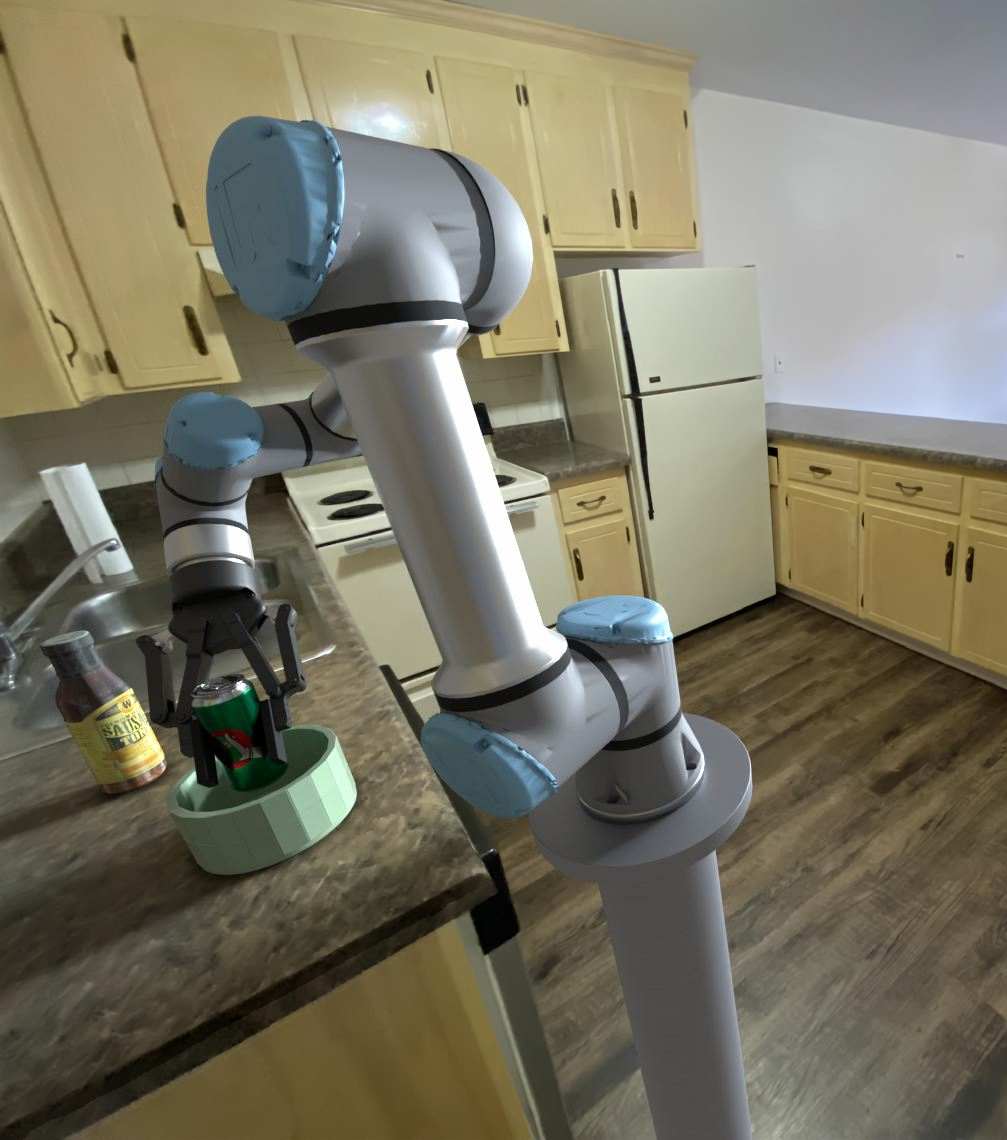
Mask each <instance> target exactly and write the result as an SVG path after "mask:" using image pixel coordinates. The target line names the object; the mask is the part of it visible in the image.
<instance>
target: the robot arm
mask: <svg viewBox="0 0 1007 1140" xmlns="http://www.w3.org/2000/svg"><path fill="white" fill-rule="evenodd" d="M206 175H207V178H206V184H205V204H206V216H207V223H208V228H209V235H210V239H211V242H212V246H213V249H214V253H215V256H216V259H217V262H218V265H219V268H220V269H221V272H222V274H223V276H224V279H225V280H226V282H227V284H228V285H229V287H230V289H231V291H233V292H234V293H236V295H238V296H239V299H240V302H241V303H242V305H244V306H245V307H246V308H247V309H249V310H250V311H251V312H252V313H255V314H257V315H258V316H260V317H264V318H267V319H269V320H272V321H274V322H284V323H285V325H286V327H287V329H288V332H289V335H290V337H291V339H292V342H293V344H294V347H295V349H296V351H297V353H298V354H300V355H302V356H304V357H306V358H308V359H309V360H311V361H313V362H315V363H316V364H318V365H320V366H322V367H323V368H324V369H326V370H327V373H326V374H325V375H324V377H322V379H321V381H320V382H319V383H318V385H317V386H316V387H315V389H314V390H313V391H312V392H311V393H310V395H308V397H307V398H305V399H302V400H294V401H287V402H279V403H273V404H265V405H258V406H251V405H249V404H248V403H247V402H245V401H244V400H242V399H239V398H237V397H235V396H232V395H229V394H225V395H222V394H217V393H214V392H213V391H202V392H194V393H191V394H188V395H185V396H182V397H181V398H180V399H179V400H176V402H175V403H174V404H173V405H172V407H171V408H170V411H169V414H168V416H167V419H166V423H165V426H164V428H163V434H162V439H163V442H162V444H163V453H162V455H163V456H161V457H159V458H158V459H157V460H156V462H155V464H154V483H153V489H154V494H156V496H157V504H158V510H159V517H160V521H161V529H162V541H163V548H164V549H163V550H164V551H163V552H164V560H165V568H166V575H167V576H168V580H167V584H168V591H169V599H170V607H171V612H172V617H171V619H170V621H169V623H168V626H167V628H166V629H164V630H162V631H161V632H158V633H156V634H153V635H152V636H150V635H148V634H142V635H140V636H138V637H137V638H136V640H135V643H136V645H137V647H138V648H139V650H140V651H141V653H142V654H143V655H144V660H145V661H144V662H145V672H146V673H145V675H146V685H147V697H148V706H149V707H148V708H149V709H148V710H149V720H150V722H151V723H152V724H155V725H157V726H160V727H162V728H164V729H167V730H168V729H172V728H173V729H174V728H177V733H178V742H179V750H180V753H181V754H182V755H183V756H184V757H186V758H188V759H193V761H194V767H195V770H196V778H197V784H199V785H202V786H205V787H208V788H211V787H214V786H217V785H219V782H218V775H217V767H216V760H215V754H214V752H213V750H212V748H211V746H210V744H209V742H208V740H207V738H206V736H205V734H204V732H203V730H202V728H201V726H200V724H199V722H198V720H197V718H196V716H195V714H194V712H193V710H192V708H191V706H190V702H191V699H192V696H191V695H190V693H191V691H192V690H193V689H194V688H195V687H196V686H198V685H200V684H201V683H203V682H205V681H208V680H210V676H211V672H212V667H213V665H214V664H215V663H216V657H217V655H220V654H222V653H224V652H227V651H228V650H230V651H231V650H241V651H242V653H243V655H244V657H245V659H246V660H247V662H248V664H249V666H250V667H251V669H252V670H253V672H254V674H255V675H256V677H257V679H258V681H259V683H260V684H261V686H262V688H263V689H264V693H265V695H267V696H268V698H265V699H263V700H260V701H259V703H260V709H261V715H262V720H263V726H264V732H265V738H266V744H267V750H268V756H269V761H270V762H272V763H274V764H276V765H278V766H280V765H283V764H286V763H287V759H286V753H285V747H284V742H283V736H282V731H283V730H286V729H290V728H291V726H293V721H292V714H291V709H290V705H289V701H290V698H291V697H292V696H294V695H296V694H297V693H302V692H305V690H306V689H307V687H308V684H307V680H306V675H305V671H304V665H303V661H302V657H301V651H300V647H299V643H298V638H297V633H296V627H297V623H298V619H299V614H298V612H297V610H295V609H294V608H293V606H292V605H291V604H290V603H282V604H280V605H279V606H267V605H266V604H265V603H264V602H263V601H262V596H261V594H262V593H261V589H260V584H259V579H258V573H257V571H256V570H255V569H256V562H255V557H254V550H253V546H252V540H251V536H250V532H249V525H248V519H247V518H248V517H247V511H246V500H247V497H248V494H249V491H250V487H251V484H252V482H253V479H255V478H259V477H264V476H270V475H275V474H279V473H284V472H288V471H292V470H297V469H301V468H305V467H311V466H315V465H321V464H324V463H330V462H334V461H339V460H345V459H349V458H357V457H363V458H364V461H365V464H366V466H367V469H368V471H369V474H370V476H371V478H372V482H373V484H374V487H375V490H376V493H377V494H378V497H379V499H380V502H381V505H382V507H383V510H384V513H385V516H386V519H387V521H388V523H389V525H390V528H391V531H392V534H393V536H394V538H395V541H396V544H397V546H398V549H399V552H400V554H401V557H402V559H403V562H404V564H405V567H406V569H407V572H408V576H409V578H410V580H411V583H412V585H413V587H414V589H415V593H416V596H417V597H418V601H419V603H420V606H421V607H422V608H421V609H422V611H423V613H424V615H425V618H426V621H427V624H428V626H429V629H430V631H431V635H432V636H433V639H434V641H435V645H436V647H437V650H438V653H439V655H440V657H441V663H440V664H439V667H438V668H437V670H436V672H435V673H434V675H433V677H432V679H431V681H430V687H431V690H432V692H433V695H434V697H435V700H436V702H437V705H438V707H439V712H437V713H434V714H432V715H431V716H430V717H429V718H428V720H427V721H426V722H425V723H424V724H423V726H422V728H421V732H420V733H421V735H420V743H421V746H422V749H423V752H424V754H425V756H426V758H427V760H428V762H429V763H430V765H431V766H432V768H433V770H434V771H435V772H436V774H437V775H438V776H439V777H440V778H441V779H442V781H443V782H444V783H445V784H446V785H447V786H448V787H449V788H450V790H452V791H453V792H454V793H456V795H457V796H459V797H460V798H461V799H463V800H464V801H465V802H467V803H468V804H469V805H471V806H473V807H474V808H476V809H478V810H479V811H481V812H483V813H485V814H487V815H490V816H493V817H496V818H500V819H501V818H502V819H516V818H520V817H523V816H525V815H528V812H530V811H531V810H532V809H534V808H535V807H536V806H537V805H538V804H540V803H541V802H542V801H543V800H545V799H546V798H547V797H548V796H552V795H554V794H555V793H556V792H557V791H558V789H559V787H560V786H561V785H562V784H563V783H564V782H565V781H567V780H568V779H569V778H570V777H571V776H572V775H573V774H574V773H575V772H576V774H575V786H576V791H577V796H578V800H579V802H580V804H581V806H582V808H583V809H584V810H585V811H586V812H587V813H588V814H589V815H591V816H592V817H594V818H596V819H598V820H601V821H604V822H607V823H612V824H624V825H627V824H639V823H644V822H648V821H652V820H655V819H658V818H661V817H663V816H666V815H668V814H670V813H672V812H674V811H675V810H677V809H678V808H680V807H681V806H683V805H684V804H685V803H686V802H688V801H689V800H690V799H691V798H692V797H693V796H694V794H695V793H696V792H697V791H698V789H699V787H700V786H701V784H702V781H703V778H704V774H705V765H704V758H703V753H702V750H701V747H700V745H699V743H698V741H697V739H696V737H695V736H694V734H693V732H692V730H691V729H690V727H689V725H688V723H687V721H686V720H685V718H684V716H683V714H682V713H683V710H682V704H681V696H680V695H681V694H680V688H679V681H678V673H677V666H676V660H675V659H676V657H675V650H674V642H673V640H674V635H673V632H672V631H671V628H670V627H671V626H670V622H669V617H668V614H667V612H666V610H665V608H664V606H662V605H661V604H660V603H659V602H656V601H655V600H652V599H651V598H650V599H649V598H646V597H642V596H634V595H606V596H598V597H594V598H593V597H592V598H587V599H584V600H581V601H577V602H575V603H573V604H570V605H568V606H566V607H565V608H563V609H562V610H561V611H560V612H559V613H558V615H557V618H556V625H555V630H556V631H555V630H553V629H551V628H548V627H546V626H545V625H544V623H543V620H542V616H541V615H540V611H539V607H538V605H537V602H536V598H535V595H534V592H533V589H532V586H531V583H530V580H529V576H528V574H527V571H526V567H525V564H524V561H523V559H522V555H521V552H520V549H519V546H518V543H517V540H516V537H515V533H514V530H513V527H512V524H511V522H510V517H509V515H508V511H507V509H506V506H505V502H504V499H503V496H502V493H501V489H500V486H499V484H498V480H497V477H496V475H495V470H494V468H493V465H492V462H491V459H490V455H489V452H488V449H487V446H486V443H485V439H484V437H483V434H482V431H481V428H480V425H479V422H478V418H477V415H476V412H475V410H474V409H475V408H474V406H473V402H472V400H471V396H470V393H469V390H468V388H467V384H466V381H465V378H464V374H463V371H462V369H461V366H460V365H461V364H460V363H459V359H458V356H457V352H458V350H459V348H461V346H462V345H464V344H465V343H466V342H467V340H468V339H470V338H471V337H472V336H483V335H486V334H489V333H491V332H492V331H494V330H495V329H496V328H497V327H498V326H499V325H500V324H501V323H502V322H503V321H504V320H505V319H506V318H507V317H508V316H509V315H510V314H511V313H512V312H513V310H514V309H515V308H516V307H517V305H518V304H519V302H520V301H521V300H522V299H523V297H524V294H525V292H526V290H527V289H528V286H529V283H530V280H531V276H532V272H533V271H532V270H533V263H534V252H533V251H534V250H533V241H532V237H531V233H530V230H529V226H528V223H527V221H526V218H525V216H524V213H523V212H522V209H521V208H520V205H519V204H518V202H517V201H516V199H515V198H514V197H513V195H512V194H511V193H510V191H509V190H508V189H507V187H506V186H505V185H504V184H503V183H502V182H501V181H500V180H499V179H498V178H497V177H496V176H495V175H494V174H493V173H492V172H490V171H489V170H487V169H486V168H485V167H483V166H482V165H480V164H479V163H478V162H475V161H474V160H472V159H470V158H468V157H466V156H464V155H461V154H458V153H455V152H453V151H449V150H444V149H440V148H428V147H425V146H419V145H414V144H410V143H405V142H400V141H396V140H391V139H387V138H383V137H382V138H381V137H377V136H373V135H367V134H362V133H359V132H353V131H349V130H344V129H341V128H340V129H339V128H334V127H331V126H330V127H329V126H327V125H324V124H323V123H321V122H320V121H317V120H312V119H309V120H308V119H302V120H300V121H298V120H290V119H289V120H288V119H282V118H277V117H271V116H265V115H250V116H244V117H241V118H239V119H237V120H235V121H233V122H232V123H230V124H229V125H228V126H227V127H225V129H223V130H222V132H221V133H220V135H219V136H218V138H217V140H216V141H215V144H214V145H213V148H212V150H211V154H210V157H209V161H208V167H207V174H206ZM267 619H269V622H270V623H271V624H272V625H273V626H274V629H275V634H276V638H277V643H278V649H279V653H280V658H281V663H282V668H283V672H284V679H285V681H283V682H281V680H280V678H279V676H278V675H277V673H276V672H275V670H274V668H273V666H272V665H271V663H270V661H269V659H268V658H267V656H266V655H265V653H264V651H263V648H262V645H261V644H260V643H259V641H258V639H257V635H258V633H259V632H260V630H261V628H262V627H263V626H264V624H265V623H266V621H267ZM177 639H178V640H179V641H181V642H182V643H184V644H185V645H186V651H185V658H186V663H185V667H184V672H183V676H182V680H181V681H182V682H181V684H180V691H179V695H178V699H177V701H176V689H175V681H174V669H173V662H172V658H171V656H170V654H171V653H172V652H173V651H174V650H173V649H174V645H173V644H174V641H176V640H177Z"/></svg>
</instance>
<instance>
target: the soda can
mask: <svg viewBox="0 0 1007 1140" xmlns="http://www.w3.org/2000/svg"><path fill="white" fill-rule="evenodd" d="M190 695H191V696H192V699H191V702H190V706H191V708H192V710H193V712H194V714H195V716H196V718H197V720H198V722H199V724H200V726H201V728H202V730H203V732H204V734H205V736H206V738H207V740H208V742H209V744H210V746H211V748H212V750H213V752H214V754H215V756H216V758H217V760H218V762H219V764H220V766H221V768H222V770H223V772H224V774H225V776H226V778H227V780H228V782H229V784H230V786H231V788H232V789H233V790H235V791H239V792H253V791H257V790H260V789H263V788H265V787H268V786H270V785H271V784H273V783H275V782H276V781H278V780H279V779H280V778H281V777H282V776H283V775H284V774H285V772H286V770H287V768H288V765H289V763H288V761H287V763H286V764H283V765H280V766H278V765H276V764H274V763H272V762H270V761H269V756H268V750H267V744H266V738H265V732H264V726H263V720H262V715H261V709H260V703H259V701H261V699H260V696H259V694H258V691H257V690H256V687H255V685H254V683H253V681H252V680H249V679H247V678H246V676H245V675H244V674H243V673H239V672H232V673H226V674H222V675H219V676H215V677H213V678H209V680H208V681H205V682H203V683H201V684H200V685H198V686H196V687H195V688H194V689H193V690H192V691H191V693H190Z"/></svg>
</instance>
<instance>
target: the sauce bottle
mask: <svg viewBox="0 0 1007 1140" xmlns="http://www.w3.org/2000/svg"><path fill="white" fill-rule="evenodd" d="M39 649H40V650H41V652H42V654H43V656H45V657H46V658H48V659H49V661H50V664H51V666H52V667H53V669H54V671H55V676H56V677H57V678H58V679H59V682H58V686H57V688H56V691H55V697H54V698H55V699H54V701H55V704H56V707H57V709H58V710H59V712H60V714H61V716H62V719H63V722H64V725H65V726H66V728H67V730H68V731H69V734H70V735H71V737H72V739H73V741H74V743H75V744H76V746H77V748H78V750H79V752H80V754H81V755H82V758H83V759H84V761H85V763H86V765H87V767H88V769H89V770H90V773H91V774H92V776H93V778H94V780H95V782H96V783H98V784H100V788H101V790H102V791H103V792H104V793H106V794H108V795H117V794H124V793H128V792H131V791H134V790H137V789H139V788H141V787H144V786H145V785H147V784H149V783H150V784H151V782H153V781H154V780H157V778H159V777H160V776H161V775H162V774H163V773H164V772H165V770H166V769H167V765H168V763H167V760H166V758H165V753H164V752H163V749H162V747H161V744H159V741H158V739H157V737H156V735H155V733H154V731H153V729H152V726H151V724H150V723H149V720H148V717H147V716H146V714H145V712H144V711H143V708H142V706H141V705H140V702H139V700H138V698H137V695H136V694H135V692H134V690H133V688H132V687H131V686H130V685H129V684H127V683H126V682H125V681H124V680H122V679H121V678H120V677H119V676H118V675H116V674H115V673H114V672H113V671H112V670H111V669H110V668H109V667H108V666H107V665H106V664H105V663H104V661H103V659H102V658H101V657H100V655H99V652H98V651H97V650H96V646H95V640H94V638H93V636H92V634H91V632H90V631H87V630H77V631H71V632H66V633H63V634H59V635H56V636H52V637H50V638H48V639H46V640H44V641H42V642H41V643H39Z"/></svg>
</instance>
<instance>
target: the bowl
mask: <svg viewBox="0 0 1007 1140" xmlns="http://www.w3.org/2000/svg"><path fill="white" fill-rule="evenodd" d="M282 736H283V742H284V747H285V753H286V759H287V761H288V763H289V765H288V768H287V770H286V772H285V774H284V775H283V776H282V777H281V778H280V779H279V780H278V781H276V782H275V783H273V784H271V785H270V786H268V787H265V788H263V789H260V790H257V791H253V792H239V791H235V790H233V789H232V788H231V786H230V784H229V782H228V780H227V778H226V776H225V774H224V772H223V770H222V768H221V766H220V764H219V762H218V760H217V758H216V756H215V760H216V767H217V775H218V782H219V785H217V786H214V787H211V788H208V787H205V786H202V785H199V784H197V778H196V770H195V766H194V767H193V768H192V769H190V770H189V771H187V772H186V773H185V774H184V775H183V776H182V777H180V779H179V780H178V781H177V782H176V783H175V784H173V786H172V787H171V789H170V791H169V794H168V795H167V798H166V800H165V804H166V808H167V811H168V813H169V815H170V817H171V818H172V820H173V822H174V824H175V825H176V827H177V829H178V831H179V833H180V834H181V836H182V838H183V840H184V842H185V843H186V845H187V847H188V849H189V850H190V852H191V854H192V856H193V857H194V860H195V862H196V864H198V865H199V866H200V867H201V869H202V870H204V871H206V872H207V873H210V874H212V875H213V874H214V875H219V876H232V875H240V874H247V873H252V872H255V871H258V870H262V869H265V868H268V867H270V866H273V865H276V864H278V863H279V864H280V863H281V862H283V861H286V860H287V859H289V858H292V857H294V856H295V855H297V854H300V853H301V852H303V851H306V850H307V849H308V848H310V847H311V846H313V845H315V844H316V843H318V842H319V841H321V840H322V839H323V838H325V837H326V836H327V835H329V834H330V833H331V832H332V831H333V830H334V829H335V828H337V827H338V826H339V825H340V824H341V823H342V822H343V821H344V819H345V818H346V817H347V816H348V814H350V812H351V810H352V808H353V807H354V805H355V803H356V801H357V796H358V790H357V786H356V782H355V778H354V776H353V774H352V772H351V769H350V767H349V766H350V765H349V764H348V761H347V759H346V757H345V753H344V751H343V749H342V746H341V744H340V742H339V739H338V737H337V735H336V734H335V733H334V731H333V730H332V729H331V728H330V727H329V728H328V727H325V726H322V725H320V724H295V725H291V728H290V729H286V730H283V731H282Z"/></svg>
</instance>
